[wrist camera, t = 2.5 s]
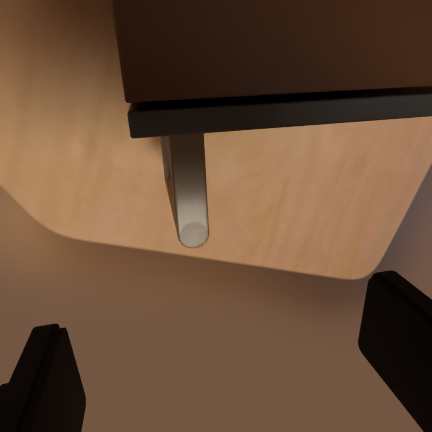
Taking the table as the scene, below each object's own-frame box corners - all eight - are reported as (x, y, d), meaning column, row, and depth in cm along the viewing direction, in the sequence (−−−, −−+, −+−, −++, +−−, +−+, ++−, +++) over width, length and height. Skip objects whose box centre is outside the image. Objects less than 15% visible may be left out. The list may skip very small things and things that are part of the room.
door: (318, 158, 29) (488, 236, 15) (146, 174, 26) (152, 288, 12) (325, 81, 26) (537, 86, 12) (135, 91, 24) (126, 111, 10)
